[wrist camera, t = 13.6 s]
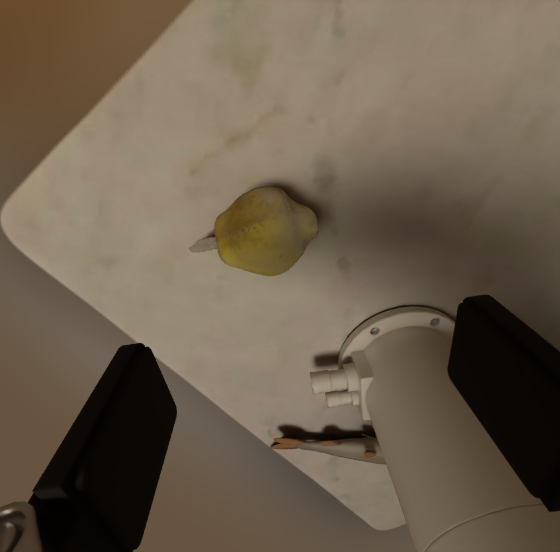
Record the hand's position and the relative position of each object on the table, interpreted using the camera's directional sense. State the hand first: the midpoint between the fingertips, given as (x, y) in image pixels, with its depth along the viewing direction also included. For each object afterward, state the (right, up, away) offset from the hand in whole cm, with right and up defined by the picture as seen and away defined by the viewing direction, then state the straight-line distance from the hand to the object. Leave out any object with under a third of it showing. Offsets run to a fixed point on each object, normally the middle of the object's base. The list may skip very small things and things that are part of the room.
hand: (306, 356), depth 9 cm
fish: (+9, -16, +24) cm, 30 cm away
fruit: (-3, +6, +15) cm, 17 cm away
